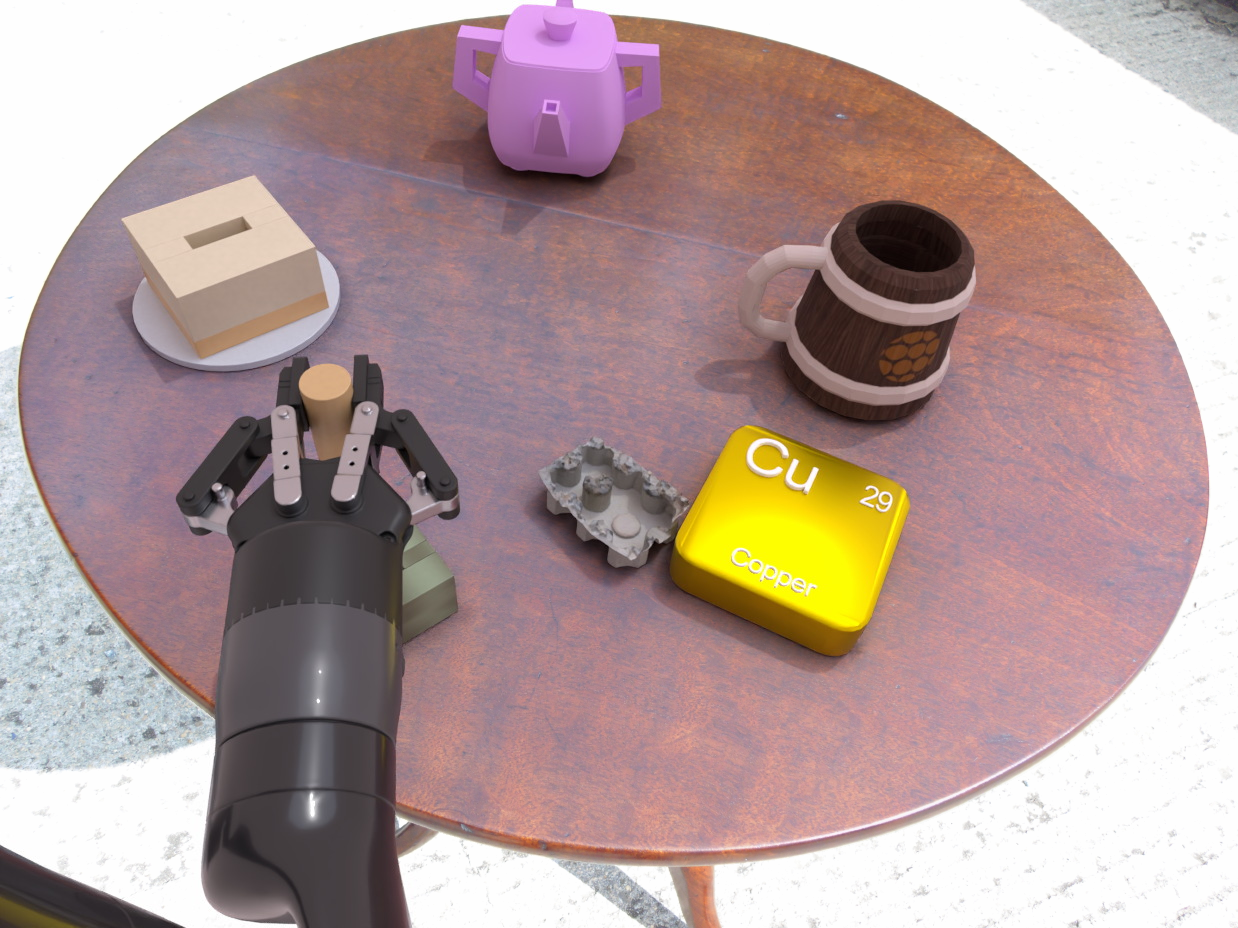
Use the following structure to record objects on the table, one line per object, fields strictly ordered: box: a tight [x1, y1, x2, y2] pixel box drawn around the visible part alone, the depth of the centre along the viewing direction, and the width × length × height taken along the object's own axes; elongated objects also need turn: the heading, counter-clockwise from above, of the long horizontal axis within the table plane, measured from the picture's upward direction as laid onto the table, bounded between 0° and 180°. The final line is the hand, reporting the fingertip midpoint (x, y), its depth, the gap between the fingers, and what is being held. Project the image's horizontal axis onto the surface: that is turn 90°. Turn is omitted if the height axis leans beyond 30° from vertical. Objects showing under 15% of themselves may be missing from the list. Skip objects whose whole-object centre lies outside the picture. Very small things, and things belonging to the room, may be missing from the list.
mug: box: [737, 199, 977, 421], centre depth 80 cm, size 20×15×15 cm
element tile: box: [669, 424, 911, 657], centre depth 71 cm, size 15×15×5 cm
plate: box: [132, 248, 342, 373], centre depth 84 cm, size 18×18×1 cm
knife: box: [299, 363, 381, 474], centre depth 53 cm, size 4×3×16 cm
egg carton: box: [538, 435, 690, 569], centre depth 72 cm, size 11×8×4 cm
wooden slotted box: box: [120, 174, 329, 359], centre depth 81 cm, size 12×12×7 cm
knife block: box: [402, 524, 459, 645], centre depth 64 cm, size 9×6×5 cm, turn 128°
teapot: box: [451, 0, 662, 178], centre depth 98 cm, size 19×18×15 cm
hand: (333, 367), depth 50 cm, fingers closed on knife, 2 cm apart
